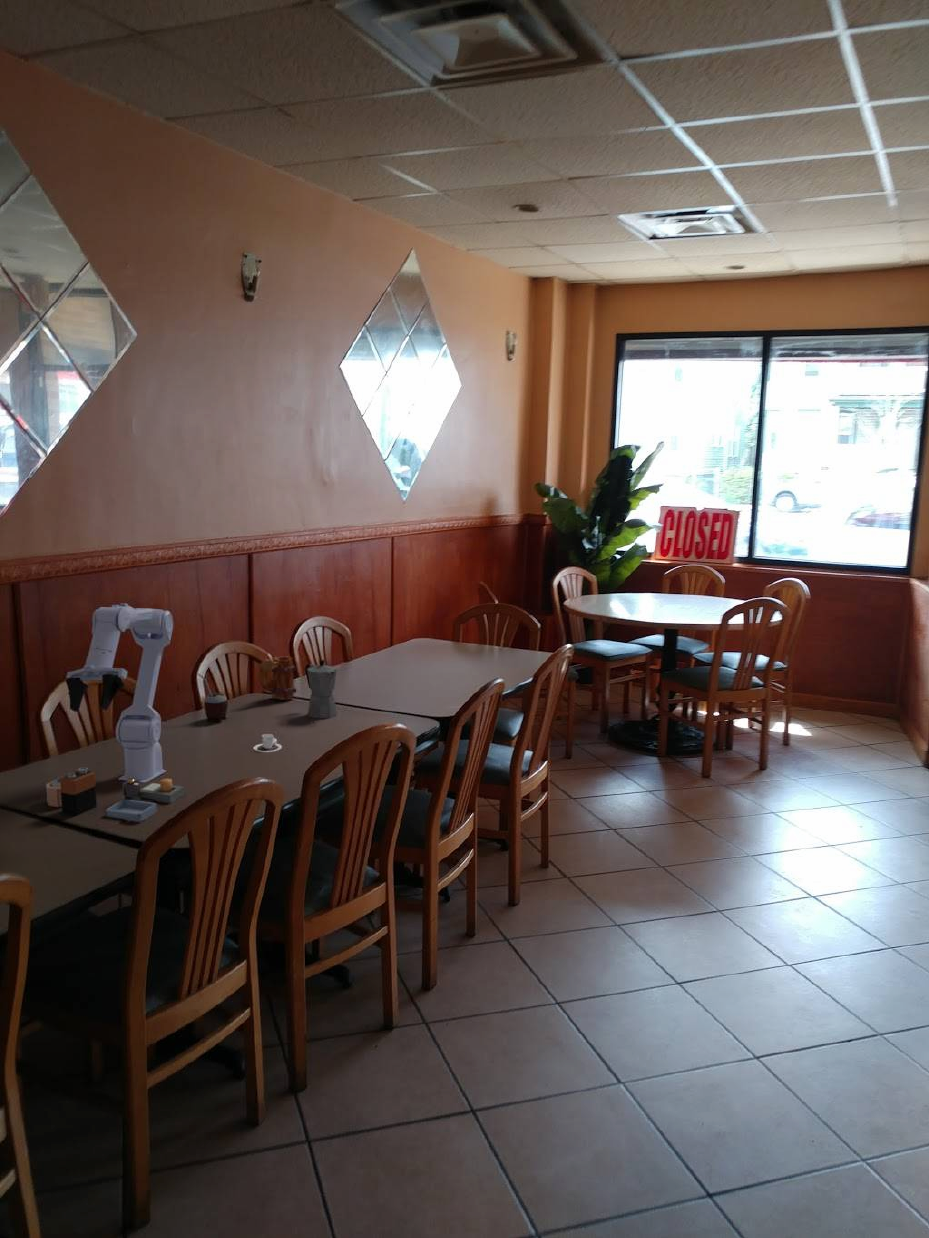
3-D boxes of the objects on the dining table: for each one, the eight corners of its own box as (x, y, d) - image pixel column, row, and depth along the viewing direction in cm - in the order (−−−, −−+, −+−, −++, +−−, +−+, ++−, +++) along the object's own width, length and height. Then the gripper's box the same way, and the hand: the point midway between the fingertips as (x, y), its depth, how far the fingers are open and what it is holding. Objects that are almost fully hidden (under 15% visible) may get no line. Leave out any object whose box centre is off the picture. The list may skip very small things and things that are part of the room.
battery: (97, 808, 221) (95, 767, 219) (75, 818, 215) (73, 777, 213) (83, 805, 223) (81, 765, 221) (61, 815, 217) (58, 774, 215)
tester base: (184, 794, 231) (184, 785, 230) (170, 803, 225) (170, 794, 224) (152, 790, 233) (151, 781, 232) (137, 798, 227) (137, 790, 227)
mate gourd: (231, 721, 291) (230, 674, 289) (207, 725, 287) (205, 677, 284) (222, 715, 297) (220, 669, 295) (198, 719, 293) (196, 672, 290)
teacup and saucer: (268, 742, 273) (268, 728, 272) (289, 747, 269) (289, 733, 268) (247, 750, 266) (247, 736, 265) (268, 755, 262) (268, 741, 261)
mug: (285, 694, 324) (284, 651, 321) (301, 698, 319) (301, 655, 316) (252, 703, 312) (251, 658, 309) (269, 707, 307) (268, 662, 305)
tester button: (164, 789, 230) (164, 777, 229) (174, 790, 229) (174, 779, 229) (158, 793, 227) (157, 781, 227) (168, 794, 227) (167, 783, 226)
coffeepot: (346, 716, 299) (346, 661, 295) (322, 721, 292) (321, 665, 289) (318, 706, 310) (317, 653, 306) (294, 711, 303) (293, 657, 300)
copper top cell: (129, 799, 227) (128, 776, 226) (144, 801, 226) (143, 777, 224) (119, 805, 223) (118, 781, 222) (134, 807, 222) (133, 783, 221)
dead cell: (61, 797, 226) (59, 773, 225) (75, 799, 225) (73, 775, 224) (49, 803, 222) (48, 779, 221) (64, 805, 221) (62, 781, 220)
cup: (60, 797, 227) (59, 777, 226) (83, 800, 226) (81, 780, 225) (42, 806, 221) (40, 786, 220) (65, 809, 220) (64, 789, 219)
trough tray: (124, 807, 222) (123, 799, 222) (157, 811, 220) (157, 803, 219) (105, 818, 215) (105, 809, 215) (139, 822, 213) (139, 814, 213)
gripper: (64, 649, 215) (49, 704, 209) (119, 644, 211) (106, 700, 205) (82, 661, 221) (68, 715, 215) (136, 657, 217) (124, 712, 211)
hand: (88, 709), depth 210 cm, fingers open, 7 cm apart
